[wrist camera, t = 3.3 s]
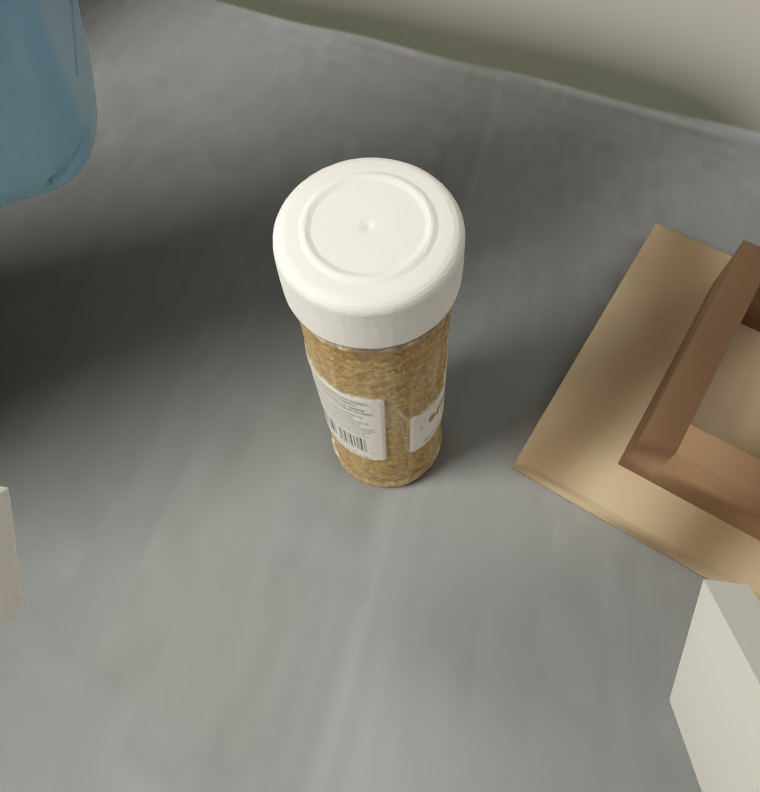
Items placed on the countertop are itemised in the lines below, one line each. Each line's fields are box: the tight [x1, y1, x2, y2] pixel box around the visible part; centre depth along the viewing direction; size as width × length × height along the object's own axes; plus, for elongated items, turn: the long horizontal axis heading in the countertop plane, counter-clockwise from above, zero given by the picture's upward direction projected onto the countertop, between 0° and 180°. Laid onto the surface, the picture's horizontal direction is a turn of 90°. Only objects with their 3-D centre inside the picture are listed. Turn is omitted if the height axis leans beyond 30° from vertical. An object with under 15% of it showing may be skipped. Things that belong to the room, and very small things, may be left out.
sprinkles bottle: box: [273, 158, 465, 487], centre depth 22 cm, size 5×5×14 cm
